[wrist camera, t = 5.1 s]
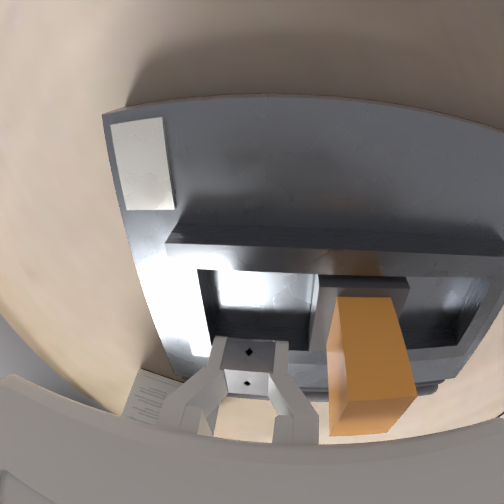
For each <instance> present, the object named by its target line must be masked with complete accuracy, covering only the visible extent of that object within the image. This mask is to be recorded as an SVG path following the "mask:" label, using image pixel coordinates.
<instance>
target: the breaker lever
mask: <svg viewBox="0 0 504 504" xmlns="http://www.w3.org/2000/svg"><path fill="white" fill-rule="evenodd" d="M409 291H410V286H409V284H408V281H407V279H406V277H400V276H359V275H327V274H316V275H315V283H314V291H313V298H312V306H311V313H310V320H309V326H308V332H309V351H327V366H328V388H329V422H330V436H351V435H366V434H378V433H387V432H388V430H389V429H390V428H391V427H392V426H393V425H394V424H395V423H396V421H397V420H398V419H399V418H400V417H401V416H402V414H403V413H404V412H405V411H406V410H407V408H408V407H409V406H410V405H411V403H412V402H413V401H414V400H415V398H416V397H417V391H416V386H415V382H414V378H413V374H412V369H411V365H410V361H409V358H408V354H407V350H406V346H405V343H404V339H403V336H402V332H401V329H400V325H399V322H398V320H399V317H400V315H401V312H402V310H403V307H404V305H405V302H406V299H407V297H408V294H409Z"/></svg>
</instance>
